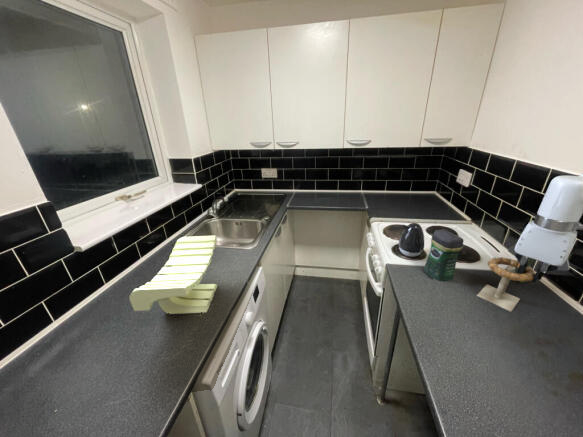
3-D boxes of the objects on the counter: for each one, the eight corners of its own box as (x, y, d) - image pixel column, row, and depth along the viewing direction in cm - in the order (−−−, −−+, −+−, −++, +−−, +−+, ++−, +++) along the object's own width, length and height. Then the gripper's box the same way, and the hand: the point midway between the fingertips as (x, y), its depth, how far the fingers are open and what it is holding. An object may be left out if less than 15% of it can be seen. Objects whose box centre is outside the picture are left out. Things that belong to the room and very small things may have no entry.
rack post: (518, 301, 76) (534, 268, 71) (509, 314, 71) (526, 280, 66) (485, 286, 83) (497, 256, 77) (475, 297, 78) (487, 266, 73)
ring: (537, 273, 71) (540, 267, 70) (527, 288, 65) (530, 282, 64) (494, 258, 79) (496, 252, 78) (482, 270, 74) (484, 264, 73)
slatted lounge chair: (185, 274, 97) (175, 237, 90) (223, 272, 97) (215, 235, 90) (145, 336, 70) (125, 290, 62) (197, 334, 70) (184, 287, 62)
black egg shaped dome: (394, 247, 109) (398, 218, 103) (417, 248, 108) (423, 218, 102) (400, 259, 100) (405, 228, 94) (425, 260, 99) (433, 229, 92)
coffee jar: (456, 281, 86) (470, 238, 78) (437, 284, 85) (450, 241, 77) (437, 266, 95) (448, 226, 87) (420, 269, 93) (429, 228, 86)
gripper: (603, 229, 57) (569, 287, 65) (518, 210, 69) (498, 261, 77) (600, 238, 53) (564, 298, 61) (510, 217, 66) (489, 269, 73)
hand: (527, 277), depth 69 cm, fingers closed on ring, 2 cm apart
